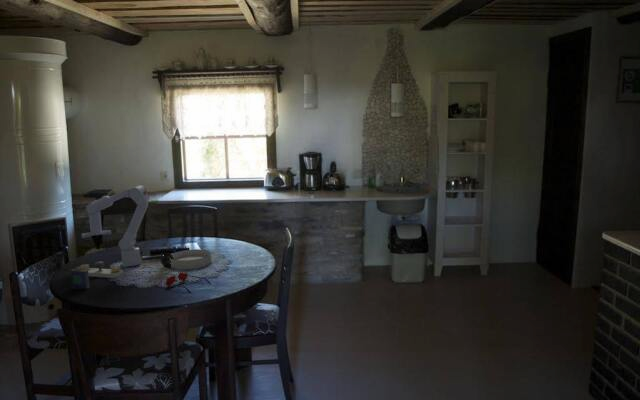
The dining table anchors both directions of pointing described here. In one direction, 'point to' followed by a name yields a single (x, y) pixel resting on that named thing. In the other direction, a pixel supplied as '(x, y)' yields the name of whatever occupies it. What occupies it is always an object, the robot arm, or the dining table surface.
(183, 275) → the glasses
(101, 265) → the graphite knob
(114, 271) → the brass knob
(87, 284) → the flask
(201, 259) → the dish
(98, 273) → the mount board
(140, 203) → the robot arm
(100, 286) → the dining table surface
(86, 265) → the brass knob
